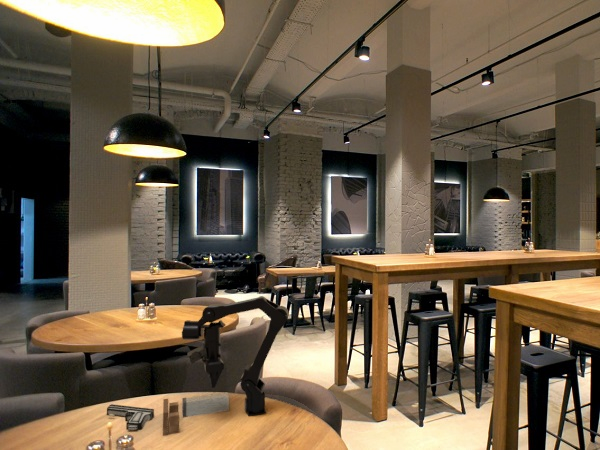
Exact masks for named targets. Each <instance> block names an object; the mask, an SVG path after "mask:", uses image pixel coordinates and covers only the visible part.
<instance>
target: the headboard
mask: <svg viewBox="0 0 600 450" xmlns="http://www.w3.org/2000/svg"><path fill="white" fill-rule="evenodd" d="M162 401H163V403H162V405H163V406H162V407H163V408H162V436H168V435H172V434H178V433H180V411H179V407H180V405H179V401H175V402H169V398H163V400H162Z"/></svg>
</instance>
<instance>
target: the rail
mask: <svg viewBox="0 0 600 450" xmlns="http://www.w3.org/2000/svg"><path fill="white" fill-rule="evenodd" d="M229 400H230V396H229V393H228V391H227V392H221V393H220V392H219V393H213V394H205V395H197V396H192V397H182V401H181V402H182V403H181V405H182V409H181V411H182V412H181V413H182V418H189V417H194V416H195V417H196V416H201V415H209V414H215V413H221V412H228V411H230V401H229Z"/></svg>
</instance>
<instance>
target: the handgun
mask: <svg viewBox="0 0 600 450" xmlns="http://www.w3.org/2000/svg"><path fill="white" fill-rule="evenodd" d="M106 416H109V417H119V418H124V419H125V422H126V423H125V425H126V426H125V427H126V430H127V431H141V430H143V427H144V426H145V424H146V423H147V422H151V421H152V420H153V419H154V418H155V408H149V407H139V406H130V405H120V404H109V405H108V406H107V407H106Z"/></svg>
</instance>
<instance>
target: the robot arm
mask: <svg viewBox="0 0 600 450" xmlns="http://www.w3.org/2000/svg"><path fill="white" fill-rule="evenodd" d="M258 309H259V310H260V311H261V312H263V313H264V314H265V315H266V316H268V317H269V318H270V321H269V325H268V329H267V333H265V337H264V339H263V341H262V343H261V346H260V348H259V350H258V352H257V354H256V356H255V358H254V360H253V362H252V363H251V365H250V363H248V364H247V365H246V366H245V367H244V368H245V369H244V371H243V373H242V375H241V377H240V379H239V380H240V388H241V390H242V391H243V392H244V393H245V398H244V410H245V412H246V414H247V416H248V417H251V416H256V415H257V416H258V415H262V414H267V411H266V394H265V392H264V389H265V386H266V383H265V382H264V381H263V380H262V379H261V375H262V374H261V373H262V369H263V367H264V363H265V361H266V360H267V357H268V356H269V355H268V354H269V353H270V352H271V348H272V346H273V344H274V342H275V340H276V338H277V335H278V334H279V333H280V332H281V330H282V329H283V327H284V326H285V324H286V323H287V321H288V318H289V315H290V314H289V313H290V312H289V310H288V308H287V307H286V306H283V305H279V304H277V303H275V302H273V301H271V300H269V299H268V298H267V297H265V296H263V295H262V296H261V295H260V296H258V297H254V298H249V299H245V300H241V301H235V302H232V303H211V304H210V305H208V306H206V307H205V308H204V309H203V310H202V314H201V317H200V318H199V319H198V320H187V319H186V320H185V321H184V322H183V323H184V325H183V327H182V331H181V337H182V340H184V341H185V340H186V341H188V340H189V341H191V340H193V341H194V340H195V341H198V340H199V341H200V339H201V338H203V342H202V346H199V347H197V348H194V349H192V350H190V351H187V357H188V360H189V362H190V364H191V365H192V364H195V363H196V362H198V361H200V360H201V361H202V362H203V363H204V371H205V373H206V374H207V376H208V379H209V380H210V386H211V387H210V388H212V389H214V388H216V385H217V383H218V381H219V378H220V376H221V374H222V372H224V369H225V363H224V361H223V360H222V359H221V358H222V355H221V346H222V343H221V329H224V328H225V326H226V323H224V322H223V319H224V318H225V317H227V316H230V315H235V314H239V313H245V312H248V311H253V310H258ZM221 319H222V320H221ZM217 321H218V322H217ZM207 323H209V324H207Z"/></svg>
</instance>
